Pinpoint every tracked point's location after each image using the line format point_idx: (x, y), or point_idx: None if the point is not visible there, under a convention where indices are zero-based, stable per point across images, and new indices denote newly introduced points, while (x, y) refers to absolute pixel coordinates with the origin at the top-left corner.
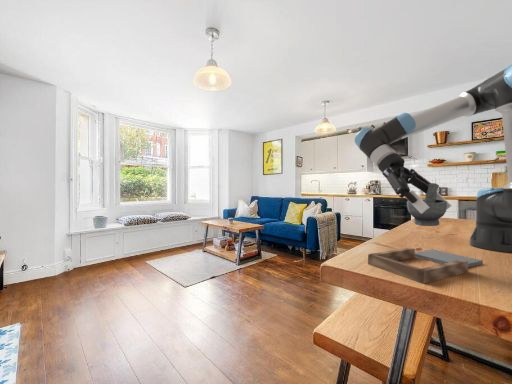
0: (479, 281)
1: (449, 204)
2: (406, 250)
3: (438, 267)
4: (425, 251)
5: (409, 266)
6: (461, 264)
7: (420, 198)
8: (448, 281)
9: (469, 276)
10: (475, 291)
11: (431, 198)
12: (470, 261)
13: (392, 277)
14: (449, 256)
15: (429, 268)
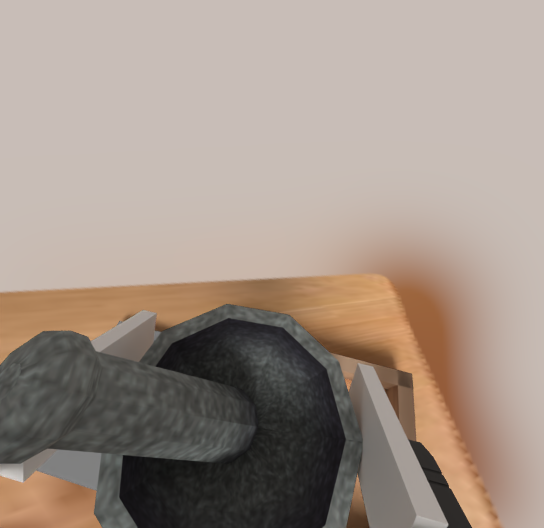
0: (284, 310)
1: (147, 315)
2: None
3: (350, 360)
4: (92, 478)
5: (411, 412)
6: None
7: (385, 416)
8: (336, 348)
9: None
10: (348, 307)
11: (196, 392)
12: (154, 338)
13: (432, 447)
14: None
15: (378, 372)
